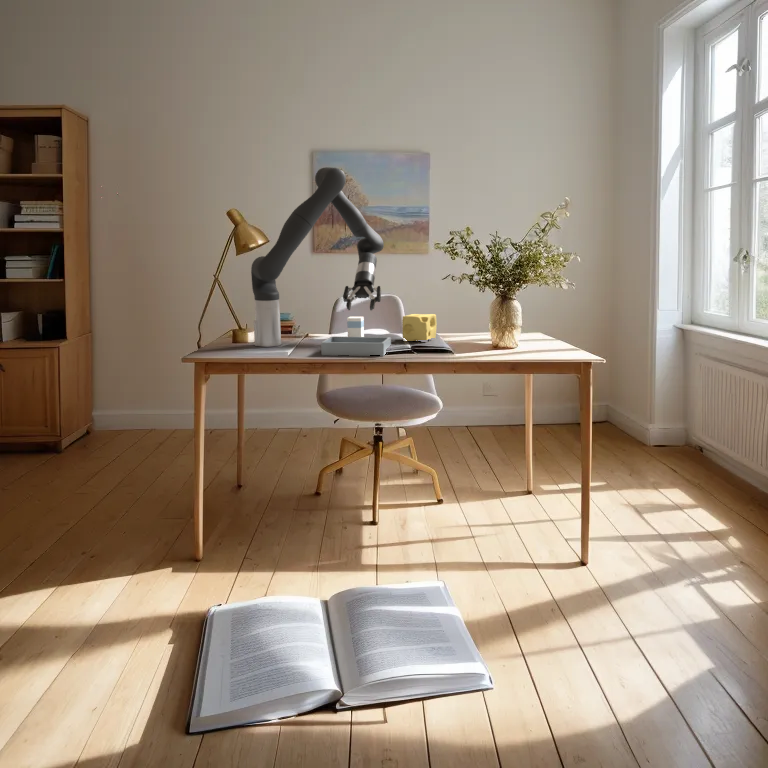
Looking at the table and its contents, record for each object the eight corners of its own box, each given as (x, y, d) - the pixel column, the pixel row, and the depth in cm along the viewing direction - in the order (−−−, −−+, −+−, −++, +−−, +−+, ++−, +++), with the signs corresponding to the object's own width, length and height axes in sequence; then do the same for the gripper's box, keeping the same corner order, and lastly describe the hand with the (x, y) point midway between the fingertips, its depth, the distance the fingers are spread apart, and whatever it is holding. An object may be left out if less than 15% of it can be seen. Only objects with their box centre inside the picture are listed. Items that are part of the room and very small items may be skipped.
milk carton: (347, 347, 302) (347, 318, 299) (350, 345, 306) (350, 316, 304) (361, 348, 301) (360, 318, 299) (364, 345, 306) (363, 316, 303)
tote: (321, 355, 285) (321, 342, 284) (331, 348, 300) (331, 336, 299) (383, 356, 281) (383, 343, 280) (390, 349, 296) (390, 337, 295)
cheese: (426, 343, 311) (426, 316, 310) (400, 341, 316) (400, 315, 314) (437, 339, 321) (436, 313, 319) (411, 338, 325) (411, 313, 323)
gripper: (345, 270, 316) (339, 302, 307) (382, 270, 314) (377, 302, 305) (348, 282, 322) (343, 315, 313) (384, 282, 320) (379, 315, 311)
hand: (359, 309), depth 309 cm, fingers open, 8 cm apart
